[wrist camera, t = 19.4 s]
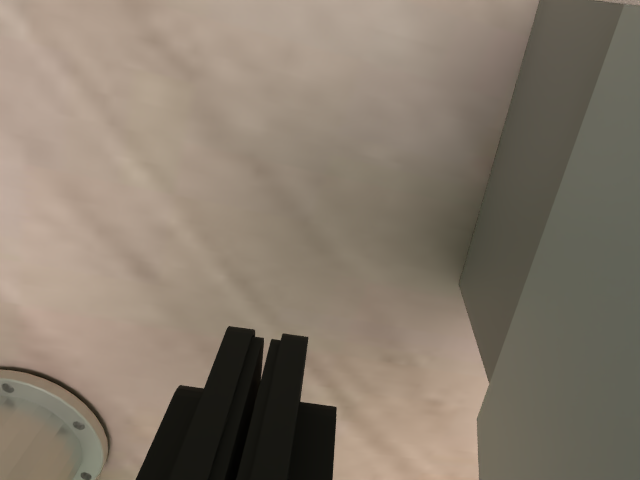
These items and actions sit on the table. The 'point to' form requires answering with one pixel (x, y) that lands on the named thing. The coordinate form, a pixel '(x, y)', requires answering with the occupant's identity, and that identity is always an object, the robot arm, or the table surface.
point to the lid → (579, 306)
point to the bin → (532, 160)
